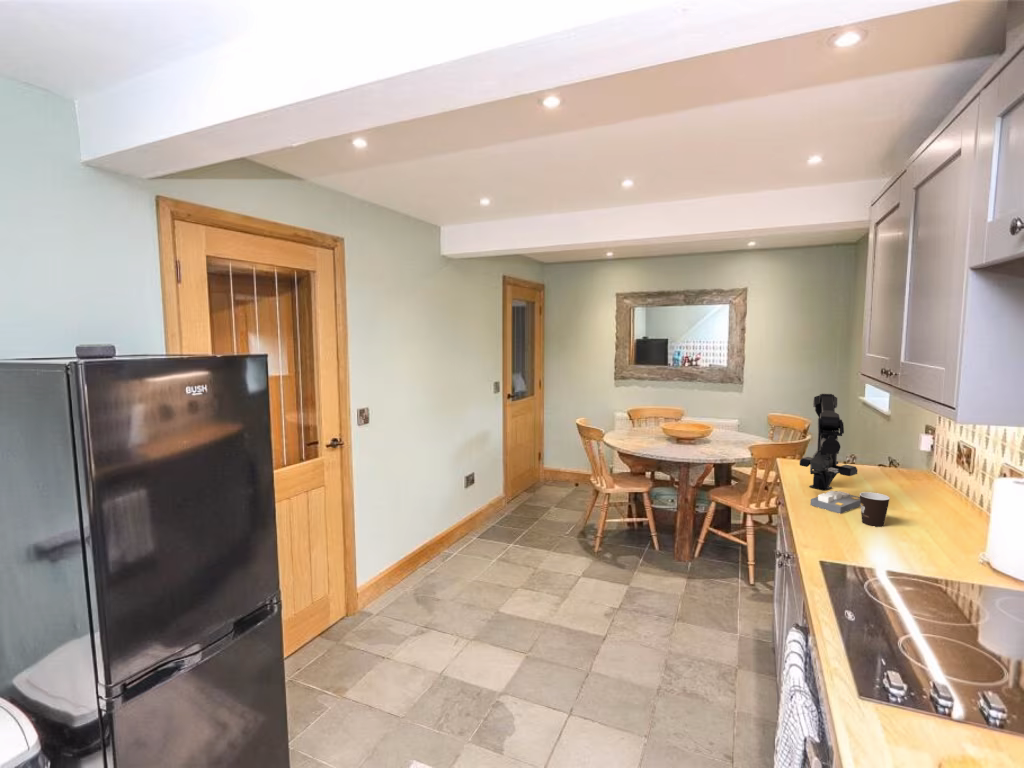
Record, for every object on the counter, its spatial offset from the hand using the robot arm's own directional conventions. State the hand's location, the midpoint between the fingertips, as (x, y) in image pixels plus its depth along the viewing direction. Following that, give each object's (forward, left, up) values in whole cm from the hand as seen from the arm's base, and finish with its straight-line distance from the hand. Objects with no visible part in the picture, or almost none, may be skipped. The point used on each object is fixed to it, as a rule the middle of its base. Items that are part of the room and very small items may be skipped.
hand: (826, 487), depth 196 cm
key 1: (0, 0, -6) cm, 6 cm away
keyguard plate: (-6, +1, -8) cm, 10 cm away
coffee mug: (+2, +17, -8) cm, 19 cm away
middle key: (-6, 0, -6) cm, 8 cm away
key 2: (-12, 0, -7) cm, 14 cm away
